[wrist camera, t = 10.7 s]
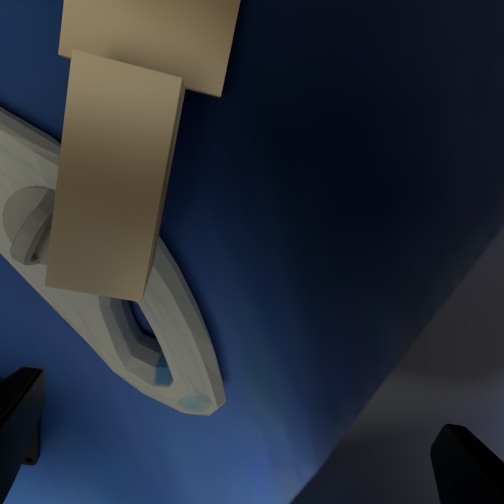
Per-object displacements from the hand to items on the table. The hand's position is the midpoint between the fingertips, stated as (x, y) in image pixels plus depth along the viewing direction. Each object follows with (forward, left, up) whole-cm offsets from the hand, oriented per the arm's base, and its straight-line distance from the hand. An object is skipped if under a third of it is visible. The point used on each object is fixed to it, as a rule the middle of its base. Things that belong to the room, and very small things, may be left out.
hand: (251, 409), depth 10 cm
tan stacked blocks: (+5, +5, -10) cm, 12 cm away
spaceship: (-4, +8, -12) cm, 15 cm away
